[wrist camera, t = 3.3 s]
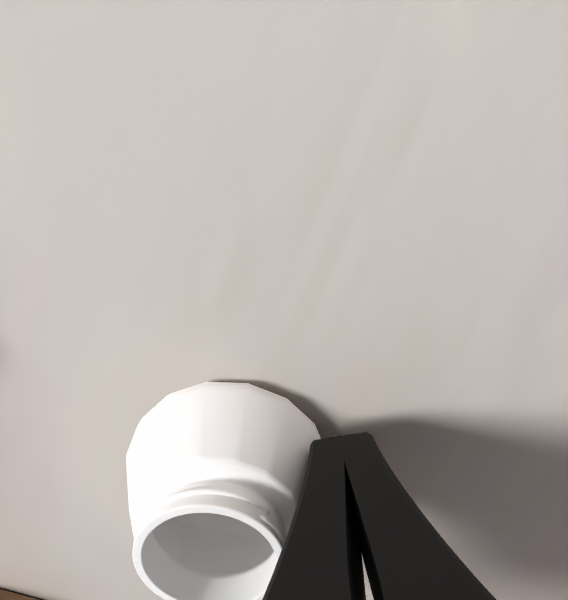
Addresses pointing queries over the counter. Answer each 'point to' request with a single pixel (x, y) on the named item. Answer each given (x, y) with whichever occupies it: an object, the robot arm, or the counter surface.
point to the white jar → (215, 489)
